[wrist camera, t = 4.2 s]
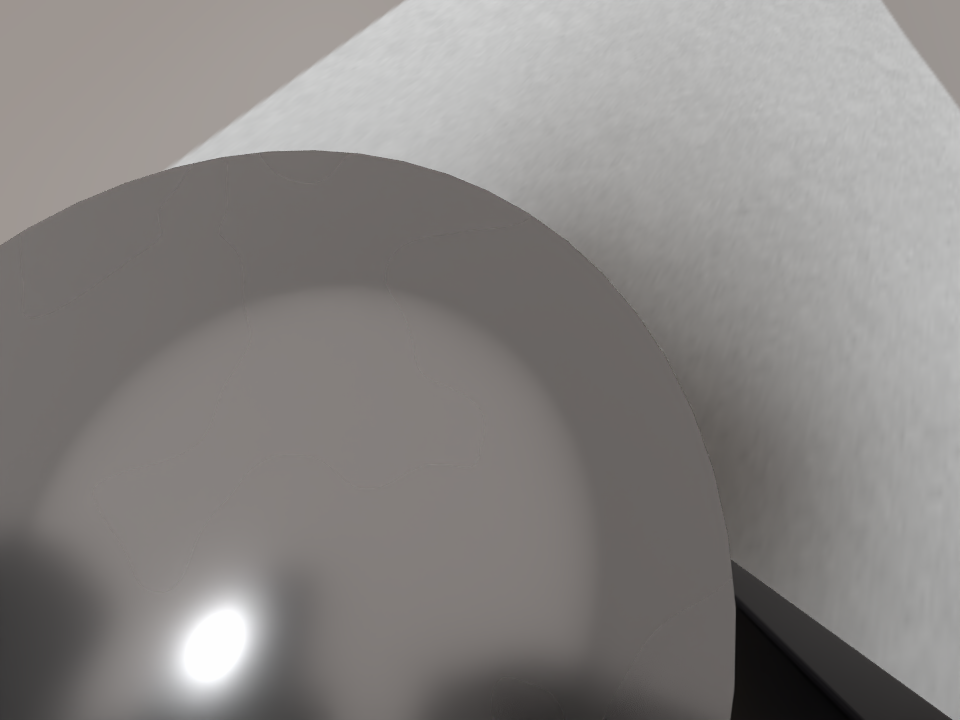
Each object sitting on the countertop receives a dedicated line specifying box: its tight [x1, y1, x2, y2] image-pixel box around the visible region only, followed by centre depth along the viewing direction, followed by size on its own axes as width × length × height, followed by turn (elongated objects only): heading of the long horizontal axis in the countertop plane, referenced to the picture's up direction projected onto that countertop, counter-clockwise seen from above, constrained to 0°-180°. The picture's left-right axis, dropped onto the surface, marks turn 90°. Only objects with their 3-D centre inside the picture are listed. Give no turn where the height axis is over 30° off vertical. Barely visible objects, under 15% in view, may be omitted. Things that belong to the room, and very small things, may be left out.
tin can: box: [0, 150, 736, 720], centre depth 9 cm, size 6×6×13 cm
